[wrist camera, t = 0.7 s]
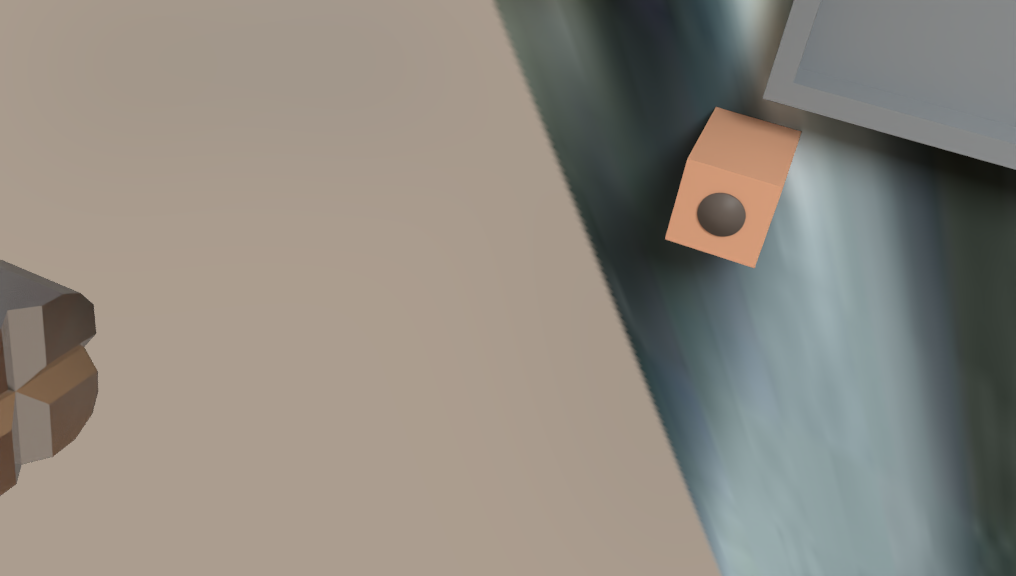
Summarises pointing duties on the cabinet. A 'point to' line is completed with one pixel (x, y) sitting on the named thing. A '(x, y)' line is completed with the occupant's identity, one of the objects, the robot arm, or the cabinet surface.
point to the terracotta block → (732, 186)
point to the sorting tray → (906, 70)
